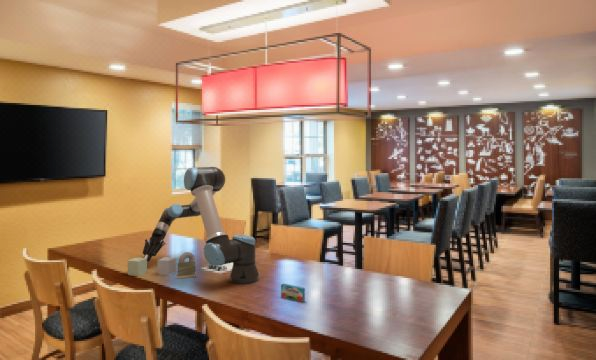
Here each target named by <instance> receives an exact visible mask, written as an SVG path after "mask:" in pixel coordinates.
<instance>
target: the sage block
mask: <svg viewBox="0 0 596 360" xmlns="http://www.w3.org/2000/svg"><path fill="white" fill-rule="evenodd" d="M147 273H148V263H147V258H143V257H133V258H131V259H128V260H127V275H128V276H135V277H139V276H142V275H145V274H147Z"/></svg>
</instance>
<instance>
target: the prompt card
mask: <svg viewBox="0 0 596 360" xmlns="http://www.w3.org/2000/svg"><path fill="white" fill-rule="evenodd" d="M197 276H198V275H197V272H196V260H195V261H191V262H189V261H185V262H180V263H179V262H177V274H176V279H177V280H179V279H181V280H182V279H190V278H197Z"/></svg>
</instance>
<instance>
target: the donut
mask: <svg viewBox="0 0 596 360" xmlns="http://www.w3.org/2000/svg"><path fill="white" fill-rule="evenodd" d="M178 258H179V259H178V263H180V262H186V259H188V262H191V261H195V262H196V257H195V255H194V253H192V252H190V251H186V252H183V253H182V254H181V255H180V256H179V257H178Z"/></svg>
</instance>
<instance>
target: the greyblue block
mask: <svg viewBox="0 0 596 360" xmlns="http://www.w3.org/2000/svg"><path fill="white" fill-rule="evenodd" d="M175 273H177V258H176V257H171V256H164V257H162V258H160V259H157V275H159V276H162V275H163V276H171V275H173V274H175Z"/></svg>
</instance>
